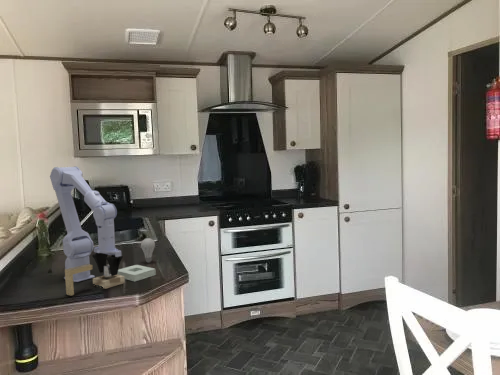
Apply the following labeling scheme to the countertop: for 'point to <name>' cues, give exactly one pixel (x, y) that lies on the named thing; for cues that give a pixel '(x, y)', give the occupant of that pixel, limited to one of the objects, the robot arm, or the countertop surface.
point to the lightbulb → (148, 248)
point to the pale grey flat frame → (136, 272)
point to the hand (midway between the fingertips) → (108, 273)
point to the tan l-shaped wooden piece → (69, 276)
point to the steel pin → (107, 272)
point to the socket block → (109, 281)
